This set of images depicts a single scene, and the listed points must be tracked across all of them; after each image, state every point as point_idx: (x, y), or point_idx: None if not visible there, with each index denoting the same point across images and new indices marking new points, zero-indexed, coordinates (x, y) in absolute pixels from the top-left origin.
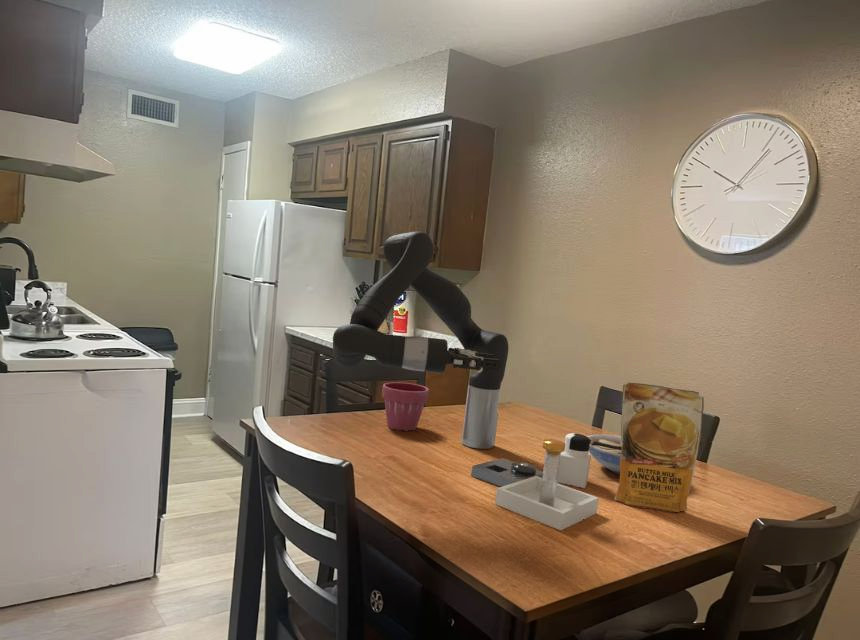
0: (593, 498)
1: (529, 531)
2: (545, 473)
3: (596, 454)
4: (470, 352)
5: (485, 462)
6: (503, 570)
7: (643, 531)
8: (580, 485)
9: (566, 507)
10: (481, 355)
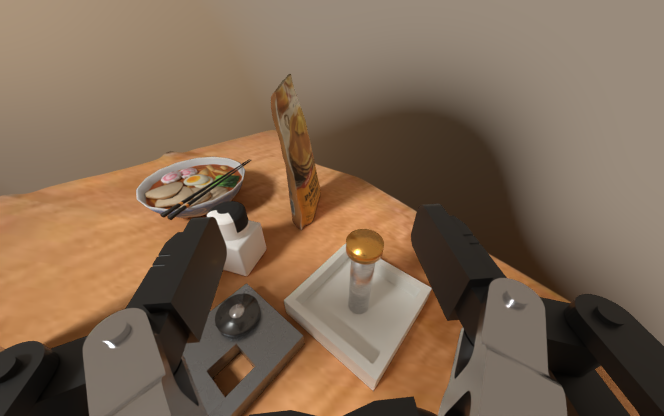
0: None
1: (456, 342)
2: (369, 283)
3: (198, 211)
4: (174, 390)
5: None
6: (628, 402)
7: (379, 226)
8: (264, 251)
9: None
10: (189, 287)
